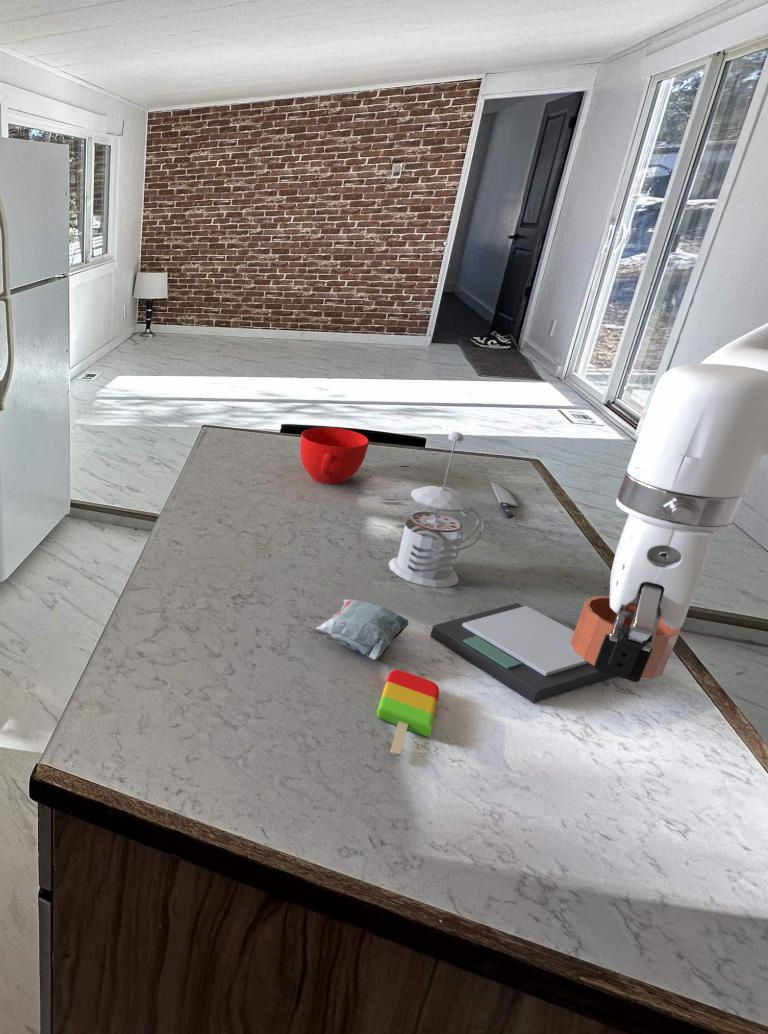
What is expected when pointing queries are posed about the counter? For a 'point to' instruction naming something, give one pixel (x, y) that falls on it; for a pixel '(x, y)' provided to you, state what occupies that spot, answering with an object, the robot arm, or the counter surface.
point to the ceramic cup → (332, 453)
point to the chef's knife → (504, 499)
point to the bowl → (600, 622)
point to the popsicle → (408, 705)
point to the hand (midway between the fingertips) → (616, 653)
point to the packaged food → (363, 627)
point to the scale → (520, 651)
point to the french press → (422, 560)
